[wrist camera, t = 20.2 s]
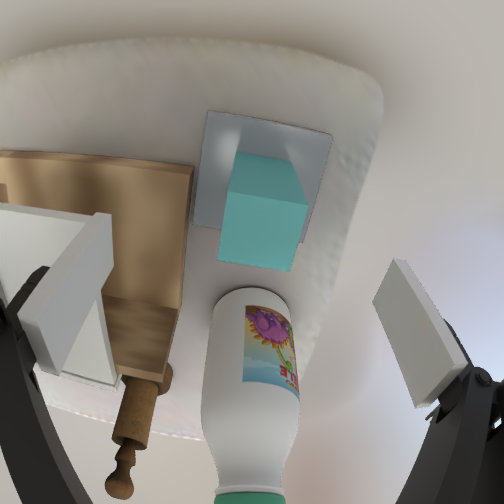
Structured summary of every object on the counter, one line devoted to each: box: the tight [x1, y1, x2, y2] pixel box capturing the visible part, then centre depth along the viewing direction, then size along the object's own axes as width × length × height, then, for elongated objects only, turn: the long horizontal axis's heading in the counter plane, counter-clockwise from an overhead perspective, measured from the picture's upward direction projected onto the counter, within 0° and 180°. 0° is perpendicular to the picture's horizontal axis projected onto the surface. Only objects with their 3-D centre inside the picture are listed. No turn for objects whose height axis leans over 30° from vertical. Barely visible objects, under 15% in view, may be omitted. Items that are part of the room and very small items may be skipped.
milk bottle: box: [201, 287, 300, 504], centre depth 23 cm, size 8×8×20 cm
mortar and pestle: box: [105, 363, 173, 500], centre depth 29 cm, size 7×6×18 cm
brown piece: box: [0, 151, 194, 383], centre depth 22 cm, size 28×14×10 cm, turn 79°
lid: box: [0, 203, 122, 393], centre depth 20 cm, size 9×15×11 cm, turn 169°
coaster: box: [192, 111, 333, 243], centre depth 23 cm, size 9×9×1 cm
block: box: [217, 152, 309, 271], centre depth 20 cm, size 4×4×8 cm
